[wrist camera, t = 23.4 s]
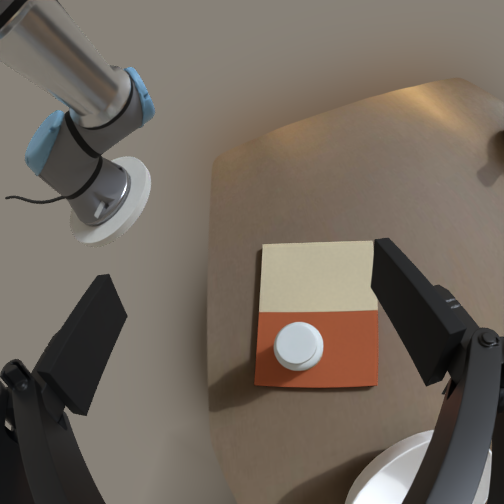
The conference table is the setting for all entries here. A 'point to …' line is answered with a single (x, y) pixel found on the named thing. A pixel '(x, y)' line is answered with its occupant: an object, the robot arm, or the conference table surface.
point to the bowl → (401, 473)
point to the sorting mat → (319, 312)
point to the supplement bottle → (298, 346)
